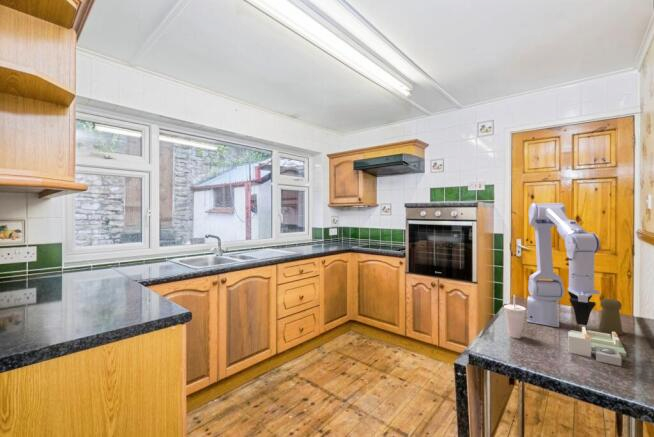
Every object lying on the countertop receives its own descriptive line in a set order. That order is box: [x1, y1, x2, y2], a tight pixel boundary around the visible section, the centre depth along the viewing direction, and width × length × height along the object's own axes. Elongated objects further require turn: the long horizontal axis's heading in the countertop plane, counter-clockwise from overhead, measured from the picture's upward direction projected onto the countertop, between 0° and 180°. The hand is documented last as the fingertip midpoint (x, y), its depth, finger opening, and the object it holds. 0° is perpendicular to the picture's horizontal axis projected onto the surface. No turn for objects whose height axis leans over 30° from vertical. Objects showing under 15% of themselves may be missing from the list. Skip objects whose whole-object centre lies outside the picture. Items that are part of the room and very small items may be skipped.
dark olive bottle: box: [598, 298, 624, 336], centre depth 104 cm, size 6×6×11 cm
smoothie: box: [503, 294, 527, 339], centre depth 102 cm, size 6×6×14 cm
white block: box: [567, 330, 592, 358], centre depth 90 cm, size 5×4×5 cm
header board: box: [569, 326, 627, 358], centre depth 95 cm, size 12×12×3 cm
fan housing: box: [593, 345, 622, 367], centre depth 86 cm, size 5×6×3 cm
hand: (580, 320), depth 90 cm, fingers open, 7 cm apart
